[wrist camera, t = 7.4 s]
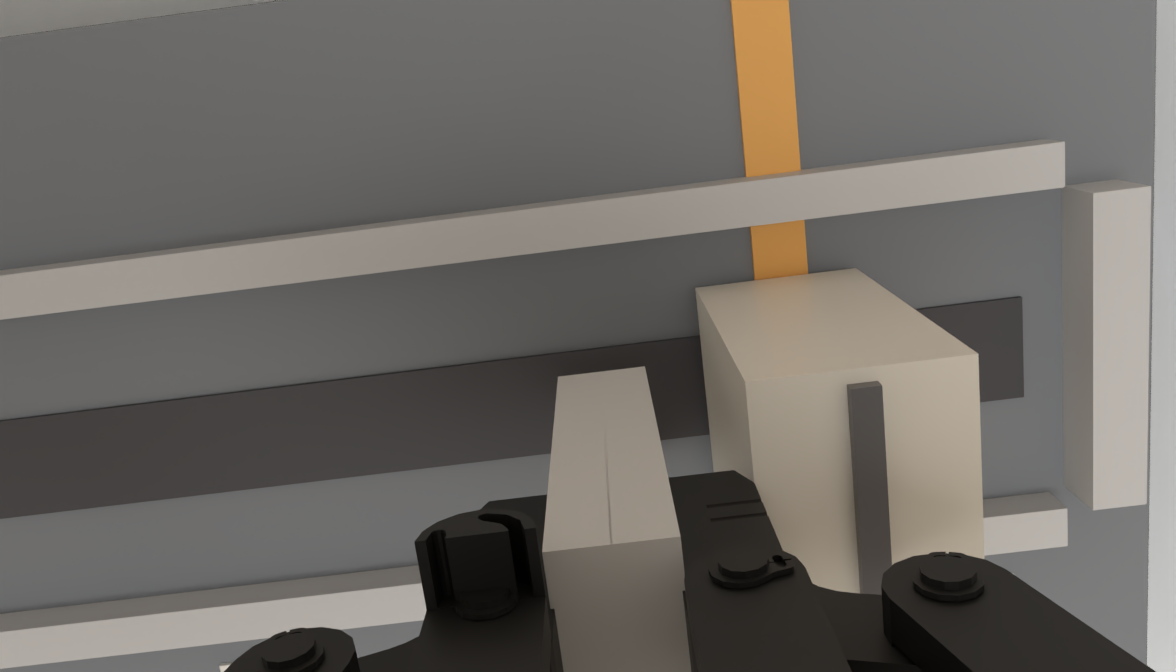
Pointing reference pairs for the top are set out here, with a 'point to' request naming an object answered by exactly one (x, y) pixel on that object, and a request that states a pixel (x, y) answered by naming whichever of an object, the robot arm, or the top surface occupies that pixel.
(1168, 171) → the top surface
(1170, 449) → the top surface
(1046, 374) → the console
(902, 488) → the fader tab
